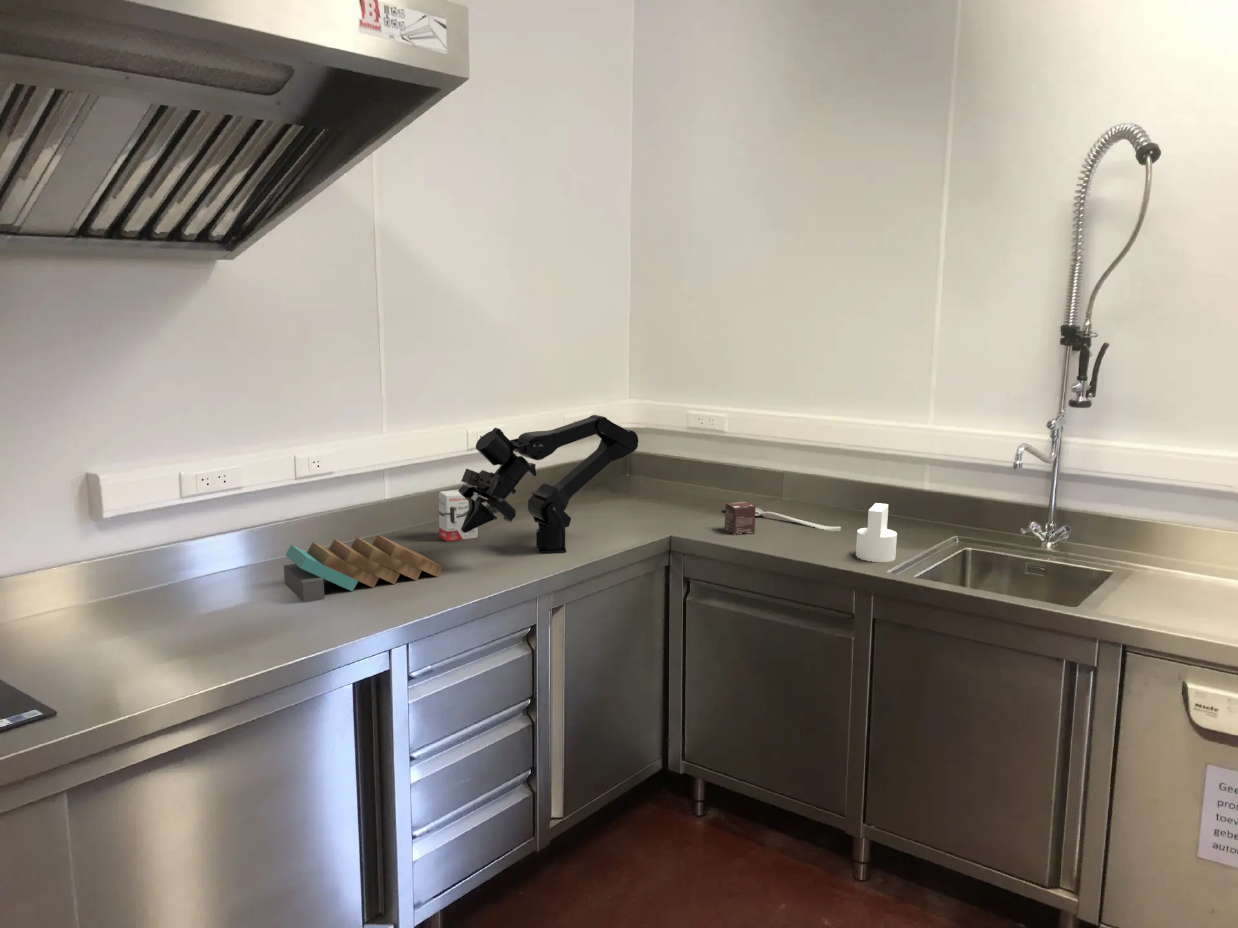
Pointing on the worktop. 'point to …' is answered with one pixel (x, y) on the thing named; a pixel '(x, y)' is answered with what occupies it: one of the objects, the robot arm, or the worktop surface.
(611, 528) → the worktop surface
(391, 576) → the domino
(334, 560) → the domino
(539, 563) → the worktop surface
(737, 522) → the box
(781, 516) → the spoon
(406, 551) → the domino
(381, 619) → the worktop surface
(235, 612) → the worktop surface
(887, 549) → the cylinder with rectangular tab
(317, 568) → the domino
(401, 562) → the domino
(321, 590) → the block
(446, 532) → the ink box
